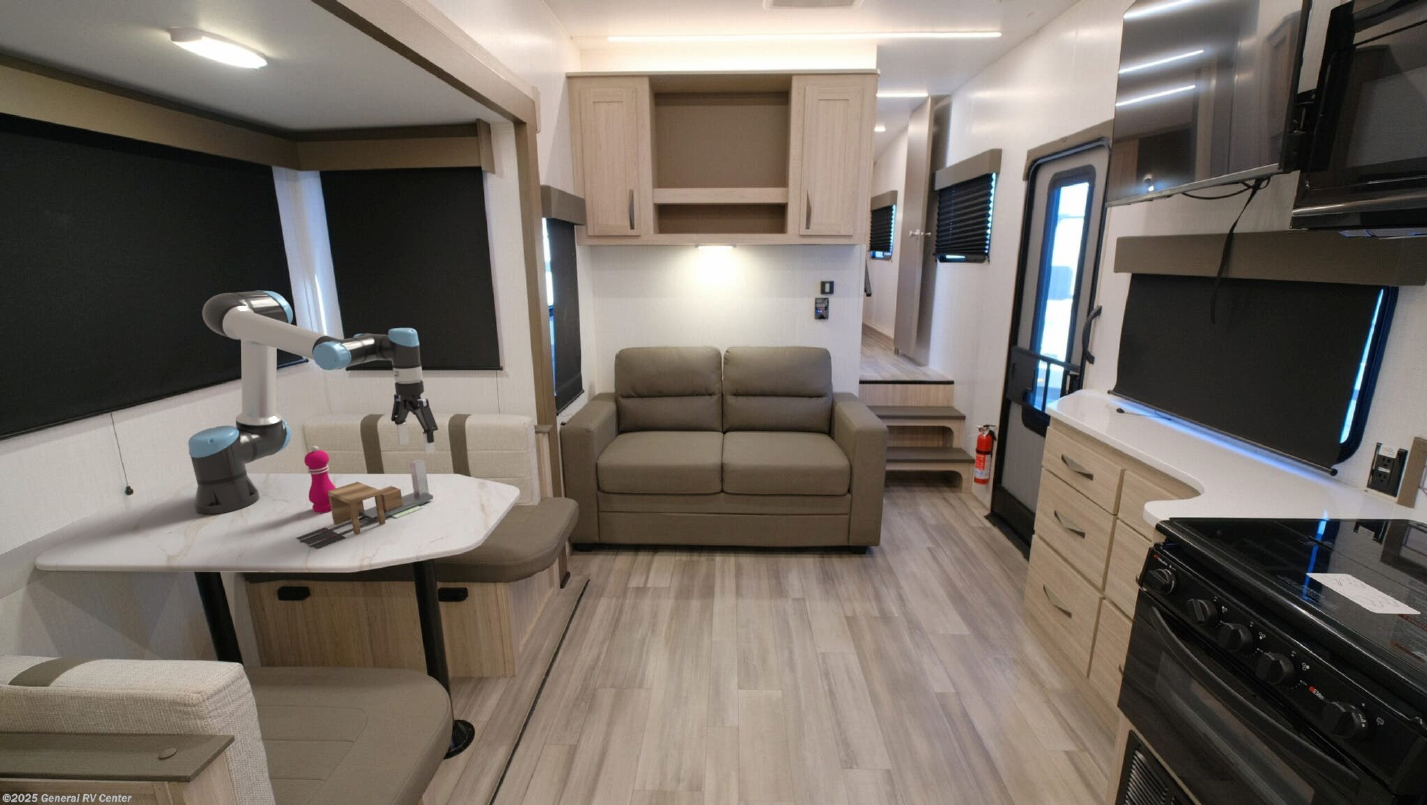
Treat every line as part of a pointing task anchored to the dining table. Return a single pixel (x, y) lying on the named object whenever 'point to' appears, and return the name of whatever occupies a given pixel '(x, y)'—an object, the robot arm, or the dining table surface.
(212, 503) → the robot arm
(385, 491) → the block
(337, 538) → the flat slatted panel
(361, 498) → the tunnel
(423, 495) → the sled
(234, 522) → the dining table surface
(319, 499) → the pepper mill
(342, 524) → the rails
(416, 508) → the pad
